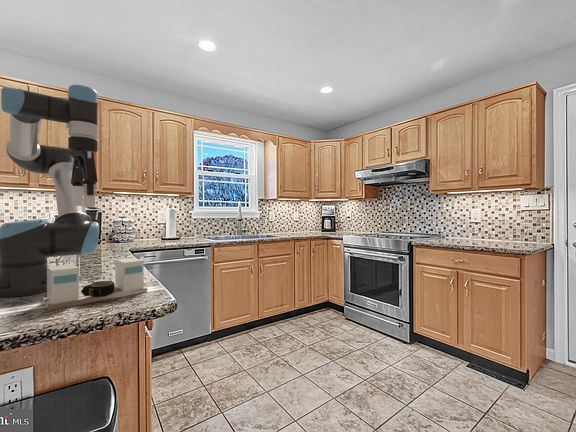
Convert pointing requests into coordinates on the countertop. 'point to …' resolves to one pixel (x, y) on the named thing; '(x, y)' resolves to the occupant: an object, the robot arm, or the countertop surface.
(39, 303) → the countertop surface
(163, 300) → the countertop surface
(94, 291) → the tape measure
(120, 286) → the mounted modules
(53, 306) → the rail board
